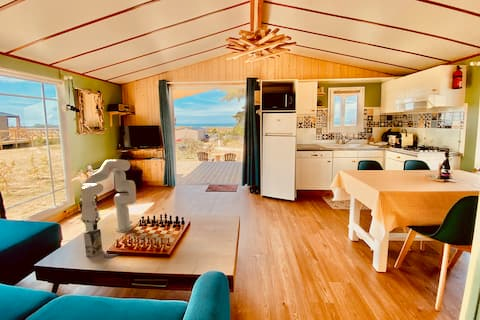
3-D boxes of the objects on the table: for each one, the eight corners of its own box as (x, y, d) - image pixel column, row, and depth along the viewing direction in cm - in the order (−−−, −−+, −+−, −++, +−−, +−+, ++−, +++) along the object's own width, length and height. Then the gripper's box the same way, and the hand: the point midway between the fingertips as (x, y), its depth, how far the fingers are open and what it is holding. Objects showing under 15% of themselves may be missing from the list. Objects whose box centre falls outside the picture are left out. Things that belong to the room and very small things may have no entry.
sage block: (91, 228, 193) (90, 220, 192) (97, 228, 192) (96, 220, 191) (86, 231, 188) (85, 222, 187) (92, 231, 187) (91, 222, 186)
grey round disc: (109, 251, 194) (109, 251, 194) (121, 252, 192) (120, 251, 192) (101, 258, 185) (101, 257, 185) (113, 258, 184) (113, 257, 183)
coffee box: (94, 256, 188) (91, 234, 185) (85, 256, 189) (83, 233, 187) (103, 250, 196) (100, 229, 194) (95, 249, 198) (92, 228, 195)
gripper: (103, 202, 190) (106, 227, 193) (81, 202, 193) (84, 227, 195) (96, 205, 183) (99, 231, 185) (73, 205, 185) (76, 231, 188)
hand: (91, 228), depth 190 cm, fingers closed on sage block, 5 cm apart
